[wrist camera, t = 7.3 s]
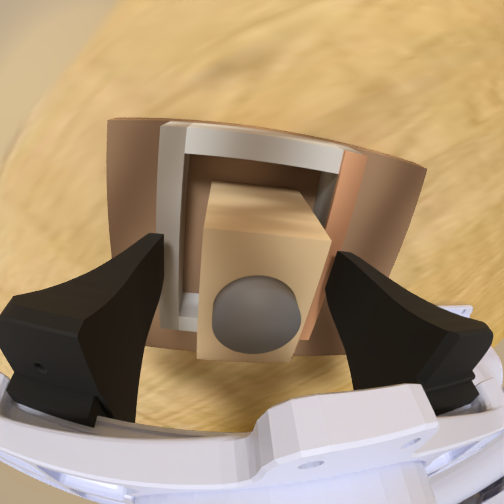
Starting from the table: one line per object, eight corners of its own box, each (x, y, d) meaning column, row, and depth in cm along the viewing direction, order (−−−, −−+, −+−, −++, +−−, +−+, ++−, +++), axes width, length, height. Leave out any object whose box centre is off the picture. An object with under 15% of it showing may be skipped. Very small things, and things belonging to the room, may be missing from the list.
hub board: (415, 163, 14) (451, 182, 11) (345, 342, 21) (359, 377, 18) (116, 117, 12) (86, 126, 9) (129, 330, 19) (118, 368, 16)
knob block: (301, 190, 13) (344, 254, 8) (277, 292, 16) (296, 377, 11) (212, 179, 13) (201, 240, 8) (202, 287, 16) (195, 373, 11)
